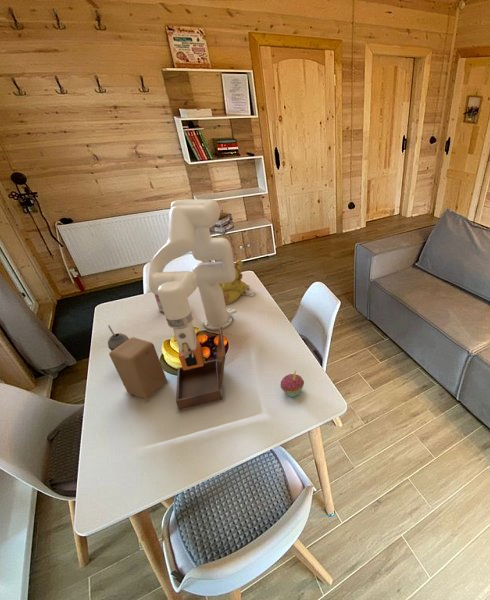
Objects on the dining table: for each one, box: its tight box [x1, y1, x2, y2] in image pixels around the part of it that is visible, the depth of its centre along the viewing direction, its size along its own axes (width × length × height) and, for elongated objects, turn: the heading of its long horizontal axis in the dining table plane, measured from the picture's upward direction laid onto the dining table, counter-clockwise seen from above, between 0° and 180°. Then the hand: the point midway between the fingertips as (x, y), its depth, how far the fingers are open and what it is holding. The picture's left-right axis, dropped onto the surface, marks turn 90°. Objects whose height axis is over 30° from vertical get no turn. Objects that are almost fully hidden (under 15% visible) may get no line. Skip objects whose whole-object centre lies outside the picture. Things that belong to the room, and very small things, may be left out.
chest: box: [175, 359, 223, 411], centre depth 125 cm, size 14×17×5 cm
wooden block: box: [108, 336, 168, 400], centre depth 121 cm, size 10×10×20 cm
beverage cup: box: [107, 324, 130, 352], centre depth 130 cm, size 7×7×20 cm
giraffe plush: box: [218, 259, 255, 305], centre depth 178 cm, size 20×24×19 cm
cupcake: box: [279, 370, 305, 397], centre depth 123 cm, size 9×8×12 cm
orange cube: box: [178, 340, 205, 370], centre depth 118 cm, size 7×7×7 cm
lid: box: [215, 327, 226, 390], centre depth 123 cm, size 15×17×1 cm
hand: (192, 357), depth 119 cm, fingers closed on orange cube, 6 cm apart
